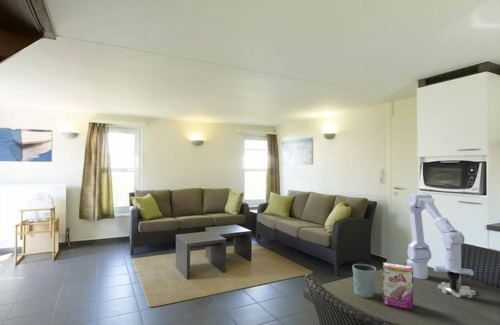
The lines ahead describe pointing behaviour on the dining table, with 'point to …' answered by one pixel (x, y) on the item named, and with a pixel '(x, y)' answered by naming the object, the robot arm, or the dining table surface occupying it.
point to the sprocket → (457, 290)
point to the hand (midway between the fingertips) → (453, 289)
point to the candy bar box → (398, 285)
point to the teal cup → (364, 280)
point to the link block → (459, 281)
